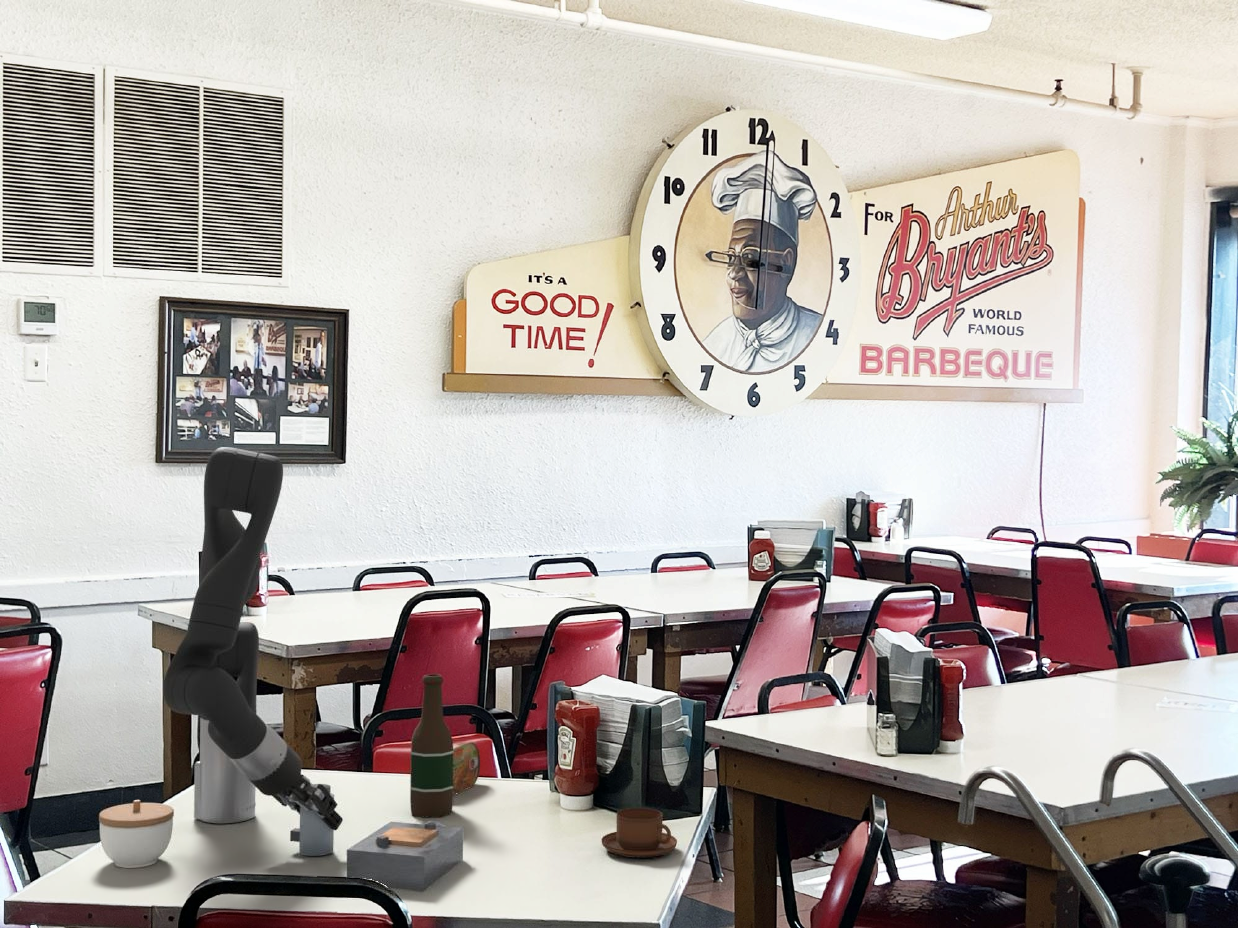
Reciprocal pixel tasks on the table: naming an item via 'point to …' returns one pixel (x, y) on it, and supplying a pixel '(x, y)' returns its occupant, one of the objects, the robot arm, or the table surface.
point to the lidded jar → (136, 833)
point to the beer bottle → (431, 756)
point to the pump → (313, 832)
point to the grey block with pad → (407, 854)
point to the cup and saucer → (639, 834)
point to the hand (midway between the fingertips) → (325, 821)
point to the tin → (465, 766)
